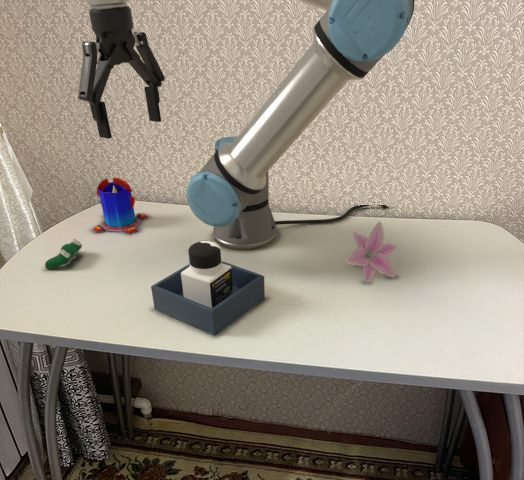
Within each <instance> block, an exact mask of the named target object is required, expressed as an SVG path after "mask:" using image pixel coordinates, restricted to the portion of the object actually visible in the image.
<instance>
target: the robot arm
mask: <svg viewBox="0 0 524 480" xmlns="http://www.w3.org/2000/svg"><path fill="white" fill-rule="evenodd" d="M130 1H131V0H86V4H87V5H88V6H89V7H91V8H90V9H89V11H88V15H89V22H90V25H91V31H92V32H93V33H94V35H95V41H88V40H86V41H85V40H84V41H82V43H81V47H82V48H81V49H82V55H83V56H82V63H81V70H80V71H81V72H80V79H79V80H80V81H79V87H78V95H77V96H78V97H77V98H78V99H79V100H80V101H84V102H88V104H89V107H90V112H91V117H92V119H93V121H95V122H96V126H97V131H98V135H99V138H102V139H108V140H109V139H112V138H113V136H112V131H111V127H110V121H109V116H108V112H107V107H106V101H102V97H103V95H104V92H105V89H106V86H107V83H108V80H109V77H110V74H111V71H112V70H113V69H114V67H115V66H120V65H122V64H129V65H130V67H132V69H133V70H134V71H135V72H136V73H137V75H138V76H139V78H141V79H142V81H143V82H144V83H145V84H146V85H147V86H144V87H143V88H144V95H145V101H146V108H147V113H148V119H149V121H150V122H154V123H155V122H156V123H160V122H162V117H161V110H160V109H161V108H160V105H159V104H160V103H161V98H160V91H159V88H160V87H162V85H163V83H162V82H165V79H166V78H165V77H166V76H165V74H164V73H163V70H162V69H161V67H160V64H159V63H158V60H157V59H156V57H155V54H154V53H153V50H152V48H151V47H150V45H149V41H148V38H147V37H148V36H147V33H146V32H144V31H134V32H133V31H132V30H133V29H134V20H133V13H132V8H131V7H130V6H129V5H128V3H129V2H130ZM297 2H300V3H303V4H306V5H309V6H311V7H315V8H317V9H320V10H323V11H325V12H324V14H322V16H321V17H320V19H318V21H317V22H316V23H315V25H314V26H313V27H312V34H313V35H312V36H313V37H312V38H313V41H312V44H310V46H309V47H308V49H307V50H306V51H305V52H304V54H303V55H301V57H300V58H299V60H298V61H297V62H296V63H295V65H294V66H293V67H292V69H291V70H290V71H289V72H288V73H287V75H286V76H285V77H284V78H283V80H282V81H281V82H280V84H279V85H278V86H277V87H276V88H275V89H274V91H273V92H272V93H271V95H269V97H268V98H267V100H266V101H265V102H264V103H263V104H262V105H261V107H260V108H259V109H258V110H257V112H256V113H255V114H254V116H253V117H251V118H252V119H251V120H250V121H249V122H248V123H247V124H246V126H244V128H243V130H242V131H241V132H240V133H239V135H237V136H235V135H233V136H225V137H224V136H223V137H220V138H218V139H217V140H215V142H214V149H213V151H214V153H213V154H212V156H211V157H210V158H209V159H208V160H207V162H206V163H205V164H204V166H203V167H202V168H201V169H200V170H199V171H198V172H197V173H195V174H194V175H192V177H191V178H190V181H189V182H188V184H187V186H186V192H185V196H186V201H187V204H188V207H189V209H190V211H191V213H192V214H193V215H194V216H195V217H196V218H197V219H198V220H199V221H201V223H203V224H206V225H207V226H210V227H213V229H212V231H213V239H214V242H215V243H217V244H218V245H219V246H220V247H223V248H227V249H231V250H237V251H248V250H255V249H260V248H263V247H266V246H268V245H270V244H273V242H274V241H276V239H277V237H278V228H277V225H302V224H306V225H307V224H328V223H334V222H338V221H339V222H340V221H341V220H344V219H346V218H347V217H348V216H349V215H350V214H351V213H352V212H353V211H355V210H358V209H361V208H366V207H370V206H372V205H360V204H357V205H353V206H351V207H350V208H348V210H347V211H345V213H343V214H342V215H340V216H337V217H332V218H325V219H324V218H323V219H297V220H295V219H294V220H291V219H289V220H275V217H274V215H273V212H272V209H271V207H270V195H269V193H270V192H269V191H270V188H269V185H270V184H269V171H270V169H271V168H272V167H273V166H274V165H275V164H276V163H277V162H278V160H279V159H280V158H282V156H283V155H284V154H285V153H286V152H287V151H288V149H289V148H290V147H291V146H292V145H293V144H294V143H295V142H296V140H297V139H298V138H300V136H301V135H302V134H303V133H304V132H305V130H306V129H307V128H308V127H309V126H310V125H311V124H312V123H313V121H314V120H315V119H316V118H317V117H318V115H320V114H321V112H323V110H324V109H325V108H326V107H327V106H328V105H329V104H330V102H331V101H332V100H333V99H334V98H335V97H336V96H337V95H338V93H339V92H340V91H341V90H342V89H343V88H344V87H345V86H346V85H347V83H349V81H356V80H358V81H359V80H363V79H364V78H365V77H366V76H367V75H368V73H369V72H371V70H372V69H373V68H374V67H375V66H376V65H377V64H378V63H379V62H380V61H381V59H382V58H383V57H384V56H385V55H386V54H389V53H390V52H391V51H392V50H394V48H395V47H396V46H397V45H398V43H400V41H401V39H402V37H403V36H404V34H405V31H406V30H407V28H408V26H409V25H410V22H411V21H412V18H413V15H414V11H415V0H297ZM135 48H136V50H137V51H136V50H135ZM358 205H360V206H358ZM378 206H379V207H381V208H383V209H389V206H387V205H386V204H385V205H378Z"/></svg>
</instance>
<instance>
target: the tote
mask: <svg viewBox="0 0 524 480" xmlns="http://www.w3.org/2000/svg"><path fill="white" fill-rule="evenodd" d="M221 261H222V264H226V265H229V266H231V268H232V283H233V294H232V295H231V296H229V297H228V298H226V299H225V300H223V301H222V302H220V303H219V304H218V305H216V306H215V307H213V308H209V307H207V306H205V305H202V304H200V303H197V302H195V301H192V300H190V299H187V298H185V297H184V295H183V287H182V279H181V272H182V271H184V270H185V269H187V268H188V267H190V263H187V264H186V265H185V266H183V267H181V268H180V269H177V270H176V271H174V272H173V273H171V274H169V275H168V276H166V277H164V278H163V279H161V280H159V281H157V282H155V283H154V284H152V285H151V286H150V290H151V295H152V301H153V306H154V310H155V311H157V312H160V313H162V314H163V315H167V316H169V317H171V318H173V319H175V320H178V321H180V322H182V323H185V324H187V325H189V326H192V327H194V328H195V329H198V330H200V331H203V332H205V333H208V334H210V335H211V336H216V335H217V334H219V333H220V332H222V331H223V330H225V328H227V327H228V326H230V325H231V324H232V323H234V322H235V321H236V320H238V319H239V318H241V317H242V316H243V315H245V314H246V313H247V312H249V311H250V310H251V309H253V308H255V307H256V306H257V305H258V304H260V303H261V302H263V301H264V300H265V299H266V298H265V297H266V296H265V295H266V290H265V275H263V274H261V273H258V272H254V271H252V270H248V269H245V268H243V267H240V266H237V265H234V264H231V263H229V262H226V261H223V260H221Z"/></svg>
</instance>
